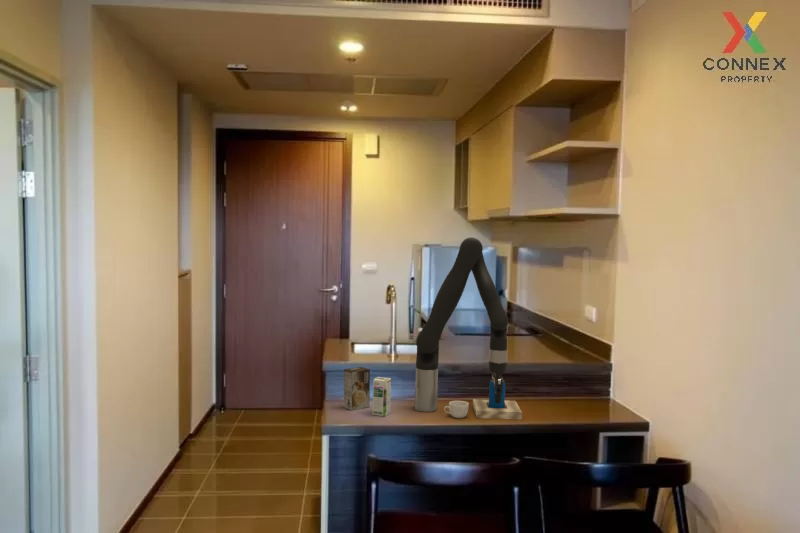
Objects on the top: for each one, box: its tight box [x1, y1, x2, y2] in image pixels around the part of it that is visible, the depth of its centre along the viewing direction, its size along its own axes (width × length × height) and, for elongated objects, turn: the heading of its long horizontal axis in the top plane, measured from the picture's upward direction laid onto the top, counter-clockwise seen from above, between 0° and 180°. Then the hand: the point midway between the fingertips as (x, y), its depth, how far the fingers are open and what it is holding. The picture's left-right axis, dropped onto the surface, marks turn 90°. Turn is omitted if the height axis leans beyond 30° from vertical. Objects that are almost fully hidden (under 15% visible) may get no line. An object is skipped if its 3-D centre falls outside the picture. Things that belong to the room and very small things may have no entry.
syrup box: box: [371, 376, 392, 417], centre depth 233 cm, size 6×6×14 cm
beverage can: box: [488, 378, 506, 408], centre depth 238 cm, size 6×6×12 cm
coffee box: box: [343, 366, 371, 411], centre depth 242 cm, size 9×6×16 cm
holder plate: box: [472, 398, 523, 420], centre depth 239 cm, size 18×16×3 cm
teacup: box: [443, 400, 470, 419], centre depth 232 cm, size 10×8×5 cm
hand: (496, 400), depth 239 cm, fingers closed on beverage can, 6 cm apart
